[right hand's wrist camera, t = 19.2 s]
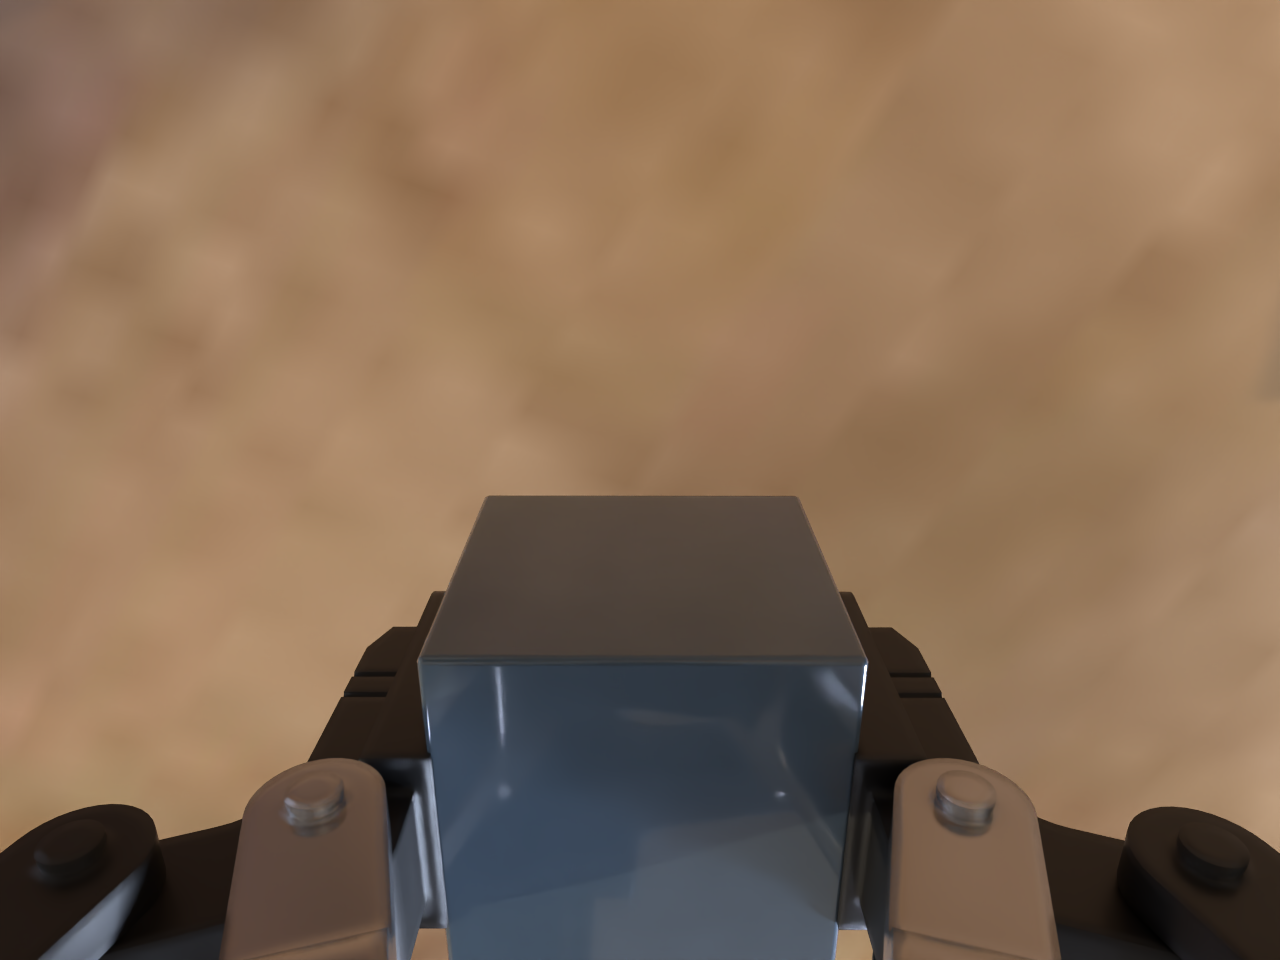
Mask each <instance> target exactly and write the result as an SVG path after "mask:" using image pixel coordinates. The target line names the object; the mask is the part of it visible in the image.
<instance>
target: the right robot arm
mask: <svg viewBox="0 0 1280 960" xmlns="http://www.w3.org/2000/svg"><path fill="white" fill-rule="evenodd" d="M445 592H446V591H434V592H433V593H432V594H431V596H430V599H429V601H428V603H427V605H426V608H425V610H424V612H423V614H422V617H421V619H420V621H419V623H418V626H417V627H392V628H391V629H390V630H389V631H387V632H386V633H385V634H384V635H382V636H381V637H380V638H379V639H377V640H376V641H375V642H374V643H372V644H371V645H370V646H369V647H367V649H366V651H365V653H364V654H363V656H362V658H361V660H360V662H359V664H358V666H357V668H356V670H355V672H354V677H351V679H350V681H349V683H348V685H347V687H346V689H345V691H344V697H341V699H340V700H339V702H338V704H337V706H336V708H335V710H334V712H333V714H332V716H331V718H330V720H329V722H328V723H327V725H326V727H325V729H324V731H323V733H322V735H321V737H320V739H319V741H318V743H317V745H316V746H315V748H314V750H313V752H312V754H311V756H310V758H309V760H308V762H306V763H303V764H300V765H297V766H295V767H292V768H290V769H288V770H286V771H284V772H282V773H280V774H278V775H277V776H275V777H273V778H272V779H270V780H269V781H268V782H266V783H265V784H264V785H263V786H262V787H261V788H260V789H258V790H257V791H256V793H255V794H254V795H253V796H252V798H251V799H250V800H249V802H248V804H247V806H246V808H245V811H244V814H243V818H242V819H241V820H238V821H235V822H233V823H229V824H226V825H222V826H218V827H214V828H210V829H206V830H201V831H197V832H193V833H188V834H184V835H180V836H175V837H171V838H166V839H162V840H159V839H158V835H157V831H156V827H155V824H154V822H153V819H152V818H151V817H150V816H149V815H148V814H147V813H146V812H144V811H143V810H141V809H139V808H136V807H133V806H128V805H122V804H107V805H97V806H92V807H86V808H82V809H79V810H75V811H72V812H69V813H66V814H64V815H61V816H58V817H56V818H54V819H52V820H50V821H48V822H46V823H43V824H42V825H40V826H38V827H37V828H35V829H33V830H31V831H30V832H28V833H27V834H25V835H24V836H23V837H21V838H20V839H18V840H17V841H16V842H14V843H13V844H12V845H11V846H9V847H8V848H7V849H5V850H4V851H3V852H2V853H0V960H410V959H411V956H412V952H413V948H414V945H415V941H416V937H417V934H418V930H419V928H447V927H448V923H449V921H448V912H447V902H446V893H445V883H444V874H443V864H442V855H441V845H440V836H439V826H438V817H437V807H436V798H435V788H434V779H433V769H432V760H431V753H428V752H427V750H426V744H425V734H424V725H423V716H422V706H421V697H420V687H419V678H418V669H417V660H418V657H419V655H420V652H421V650H422V647H423V645H424V643H425V640H426V638H427V635H428V633H429V631H430V628H431V626H432V623H433V621H434V619H435V616H436V614H437V612H438V609H439V607H440V604H441V602H442V600H443V597H444V595H445ZM839 594H840V596H841V598H842V601H843V603H844V605H845V608H846V610H847V612H848V615H849V617H850V619H851V622H852V624H853V626H854V629H855V631H856V634H857V636H858V638H859V641H860V643H861V645H862V648H863V650H864V652H865V655H866V657H867V660H868V670H867V679H866V688H865V697H864V706H863V715H862V724H861V733H860V742H859V750H858V752H857V753H855V759H854V768H853V778H852V787H851V796H850V805H849V814H848V824H847V833H846V842H845V851H844V860H843V870H842V879H841V888H840V897H839V906H838V916H837V925H838V929H839V930H867V931H868V934H869V938H870V941H871V945H872V949H873V955H872V960H1280V853H1279V852H1277V851H1276V850H1275V849H1273V848H1272V847H1271V846H1269V845H1268V844H1267V843H1266V842H1264V841H1263V840H1261V839H1260V838H1258V837H1257V836H1256V835H1254V834H1253V833H1251V832H1249V831H1247V830H1246V829H1244V828H1242V827H1241V826H1239V825H1237V824H1234V823H1232V822H1230V821H1228V820H1226V819H1223V818H1221V817H1218V816H1215V815H1213V814H1209V813H1206V812H1202V811H1199V810H1194V809H1189V808H1182V807H1158V808H1152V809H1149V810H1146V811H1143V812H1141V813H1140V814H1138V815H1137V816H1135V817H1134V818H1133V820H1132V821H1131V822H1130V824H1129V827H1128V830H1127V834H1126V838H1125V841H1123V840H1119V839H1115V838H1110V837H1106V836H1102V835H1097V834H1093V833H1089V832H1084V831H1080V830H1076V829H1071V828H1067V827H1064V826H1060V825H1056V824H1054V823H1051V822H1048V821H1045V820H1043V819H1040V818H1038V817H1037V814H1036V811H1035V808H1034V806H1033V804H1032V802H1031V800H1030V799H1029V798H1028V796H1027V795H1026V794H1025V793H1024V791H1023V790H1022V789H1021V788H1019V787H1018V786H1017V785H1016V784H1015V783H1014V782H1012V781H1011V780H1010V779H1008V778H1007V777H1005V776H1003V775H1002V774H1000V773H998V772H996V771H994V770H992V769H990V768H988V767H985V766H983V765H980V764H979V762H978V761H977V759H976V757H975V755H974V753H973V751H972V749H971V747H970V745H969V744H968V742H967V740H966V738H965V736H964V734H963V732H962V730H961V728H960V727H959V725H958V723H957V721H956V719H955V717H954V715H953V713H952V711H951V710H950V708H949V706H948V704H947V702H946V700H945V698H942V693H941V691H940V689H939V687H938V685H937V683H936V681H935V679H934V678H931V672H930V670H929V668H928V666H927V664H926V662H925V661H924V659H923V657H922V655H921V653H920V651H919V649H918V648H917V647H916V646H914V645H913V644H912V643H911V642H909V641H908V640H907V639H906V638H904V637H903V636H902V635H900V634H899V633H898V632H897V631H895V630H894V629H893V628H868V626H867V624H866V622H865V619H864V617H863V615H862V613H861V610H860V608H859V606H858V604H857V602H856V599H855V597H854V595H853V594H852V593H851V592H839Z"/></svg>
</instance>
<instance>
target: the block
mask: <svg viewBox="0 0 1280 960" xmlns="http://www.w3.org/2000/svg"><path fill="white" fill-rule="evenodd" d="M417 669H418V678H419V687H420V697H421V706H422V716H423V725H424V734H425V744H426V750H427V752H428V753H431V760H432V769H433V779H434V788H435V798H436V807H437V817H438V826H439V836H440V845H441V855H442V864H443V874H444V883H445V893H446V902H447V912H448V921H449V923H448V927H447V928H445V932H446V941H447V951H448V960H835V958H836V949H837V940H838V931H839V929H838V925H837V916H838V906H839V897H840V888H841V879H842V870H843V860H844V851H845V842H846V833H847V824H848V814H849V805H850V796H851V787H852V778H853V768H854V759H855V753H857V752H858V750H859V742H860V733H861V724H862V715H863V706H864V697H865V688H866V679H867V670H868V660H867V657H866V655H865V652H864V650H863V648H862V645H861V643H860V641H859V638H858V636H857V634H856V631H855V629H854V626H853V624H852V622H851V619H850V617H849V615H848V612H847V610H846V608H845V605H844V603H843V601H842V598H841V596H840V594H839V591H838V589H837V587H836V584H835V582H834V580H833V577H832V575H831V572H830V570H829V568H828V565H827V563H826V561H825V558H824V556H823V554H822V551H821V549H820V547H819V544H818V542H817V540H816V537H815V535H814V533H813V530H812V528H811V525H810V523H809V521H808V518H807V516H806V514H805V511H804V509H803V507H802V504H801V502H800V500H799V498H798V497H796V496H487V497H485V499H484V502H483V504H482V507H481V509H480V511H479V514H478V516H477V518H476V521H475V523H474V526H473V528H472V530H471V533H470V535H469V538H468V540H467V542H466V545H465V547H464V549H463V552H462V554H461V557H460V559H459V561H458V564H457V566H456V569H455V571H454V573H453V576H452V578H451V581H450V583H449V585H448V588H447V590H446V592H445V595H444V597H443V600H442V602H441V604H440V607H439V609H438V612H437V614H436V616H435V619H434V621H433V623H432V626H431V628H430V631H429V633H428V635H427V638H426V640H425V643H424V645H423V647H422V650H421V652H420V655H419V657H418V660H417Z"/></svg>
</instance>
